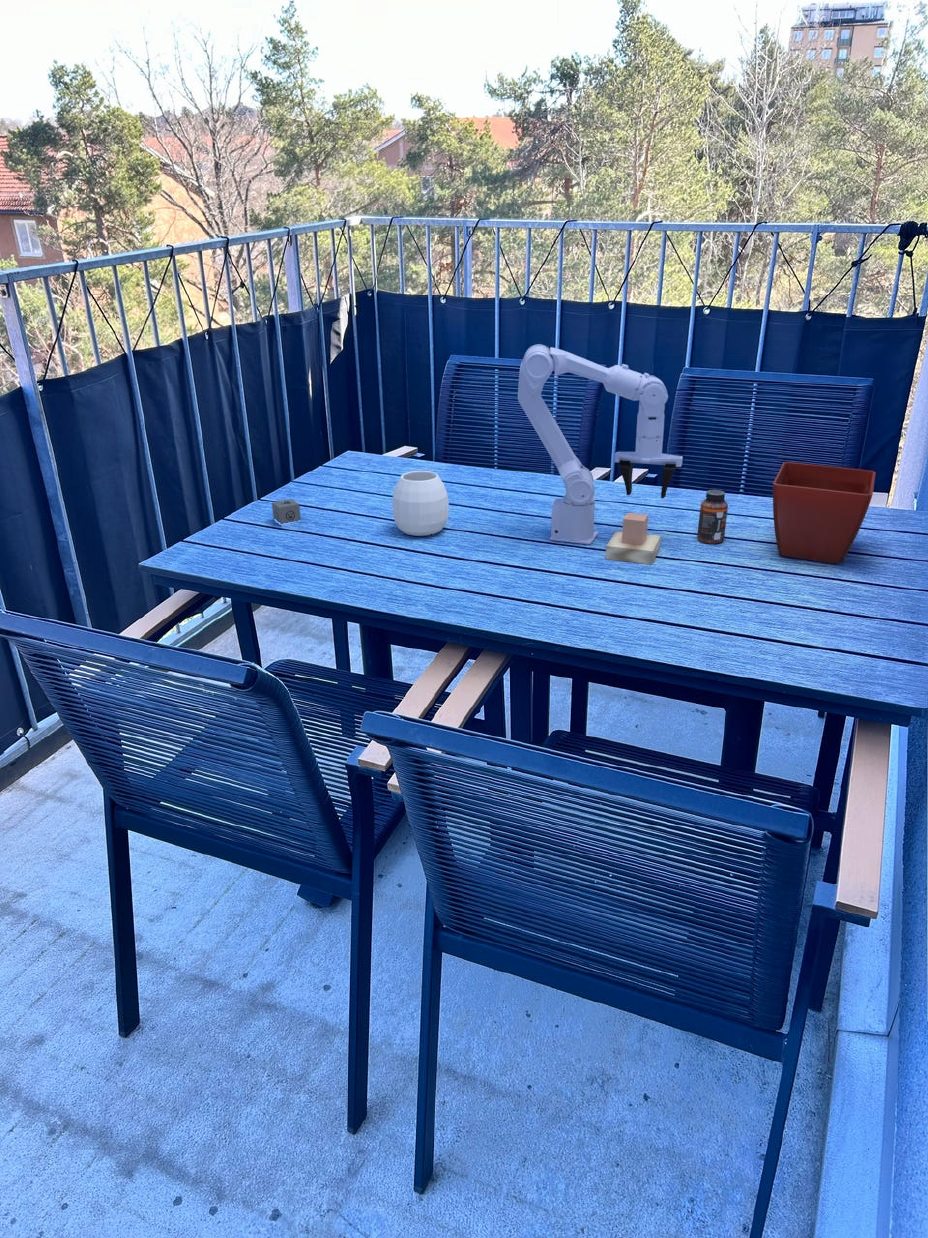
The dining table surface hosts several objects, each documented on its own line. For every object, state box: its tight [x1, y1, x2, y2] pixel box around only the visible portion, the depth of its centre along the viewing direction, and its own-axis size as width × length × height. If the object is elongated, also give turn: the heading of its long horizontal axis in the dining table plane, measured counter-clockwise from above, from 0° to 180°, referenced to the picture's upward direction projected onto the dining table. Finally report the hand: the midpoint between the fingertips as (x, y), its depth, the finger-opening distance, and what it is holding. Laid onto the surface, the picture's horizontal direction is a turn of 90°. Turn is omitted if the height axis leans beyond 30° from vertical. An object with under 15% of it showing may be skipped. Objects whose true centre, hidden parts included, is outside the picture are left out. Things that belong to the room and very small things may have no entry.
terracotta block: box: [621, 512, 649, 545], centre depth 192 cm, size 4×4×6 cm
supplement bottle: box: [697, 489, 729, 545], centre depth 199 cm, size 6×6×11 cm
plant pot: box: [772, 461, 877, 565], centre depth 191 cm, size 19×19×17 cm
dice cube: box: [271, 498, 302, 524], centre depth 216 cm, size 5×5×5 cm
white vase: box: [391, 470, 450, 537], centre depth 207 cm, size 13×13×14 cm
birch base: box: [605, 530, 662, 565], centre depth 194 cm, size 10×10×3 cm
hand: (646, 495), depth 199 cm, fingers open, 7 cm apart
